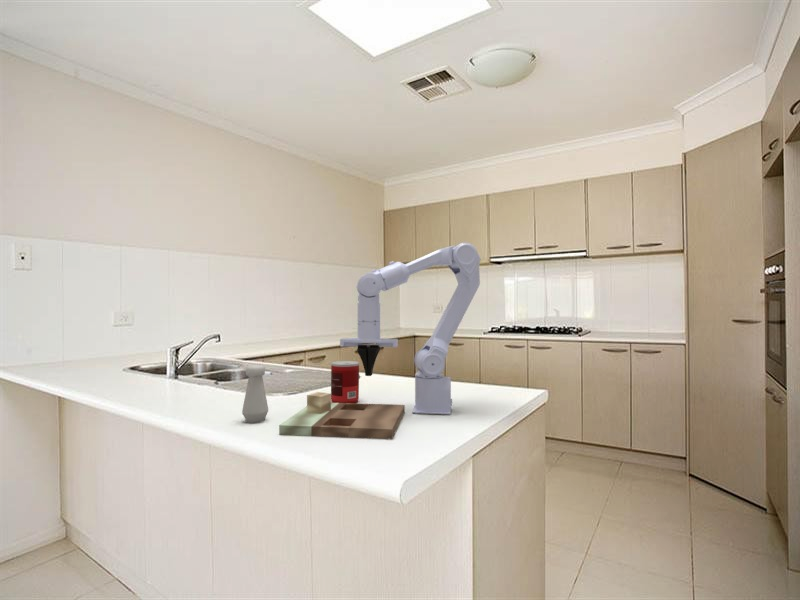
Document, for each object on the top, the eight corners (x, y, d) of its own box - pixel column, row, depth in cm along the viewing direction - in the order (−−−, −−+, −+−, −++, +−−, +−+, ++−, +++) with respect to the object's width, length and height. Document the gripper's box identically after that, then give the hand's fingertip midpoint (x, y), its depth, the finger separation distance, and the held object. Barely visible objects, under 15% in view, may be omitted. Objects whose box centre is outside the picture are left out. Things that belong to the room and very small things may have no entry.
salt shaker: (261, 416, 109) (261, 363, 109) (272, 420, 105) (272, 365, 105) (237, 420, 105) (238, 365, 105) (249, 425, 101) (249, 367, 101)
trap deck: (404, 412, 113) (404, 404, 113) (392, 439, 91) (392, 429, 91) (312, 409, 116) (312, 402, 116) (279, 434, 94) (279, 425, 94)
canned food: (361, 399, 128) (362, 361, 129) (354, 405, 120) (354, 364, 121) (335, 398, 130) (336, 360, 130) (327, 404, 122) (327, 363, 122)
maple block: (330, 410, 107) (330, 393, 107) (321, 413, 104) (321, 396, 104) (317, 408, 109) (317, 392, 109) (307, 412, 105) (307, 395, 105)
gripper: (399, 321, 116) (399, 373, 116) (344, 320, 118) (344, 372, 118) (395, 322, 109) (395, 377, 109) (337, 321, 111) (337, 376, 111)
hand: (368, 375), depth 113 cm, fingers closed
